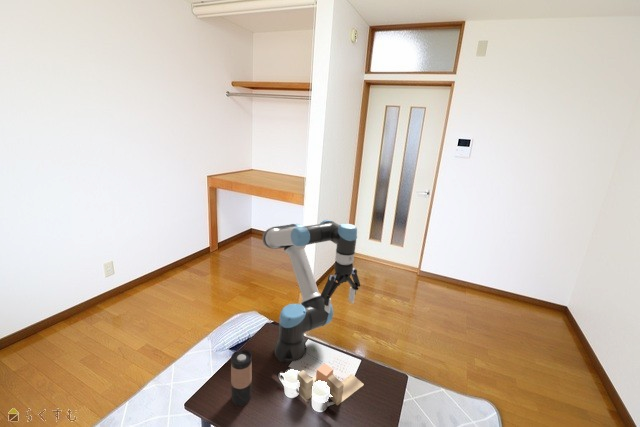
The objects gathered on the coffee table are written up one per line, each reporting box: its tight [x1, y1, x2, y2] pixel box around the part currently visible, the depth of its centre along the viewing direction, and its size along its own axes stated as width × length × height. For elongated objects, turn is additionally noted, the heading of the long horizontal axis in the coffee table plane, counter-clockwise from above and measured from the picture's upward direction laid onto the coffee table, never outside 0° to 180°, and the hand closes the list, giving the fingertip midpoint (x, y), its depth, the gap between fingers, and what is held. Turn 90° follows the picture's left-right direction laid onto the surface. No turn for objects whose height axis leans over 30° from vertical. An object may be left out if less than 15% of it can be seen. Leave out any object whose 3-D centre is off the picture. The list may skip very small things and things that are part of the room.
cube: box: [315, 362, 334, 382], centre depth 128 cm, size 5×5×5 cm
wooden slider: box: [296, 370, 318, 404], centre depth 124 cm, size 7×16×9 cm, turn 132°
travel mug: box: [230, 349, 253, 407], centre depth 115 cm, size 8×8×20 cm
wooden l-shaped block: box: [327, 373, 365, 406], centre depth 123 cm, size 7×16×9 cm, turn 132°
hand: (339, 306), depth 129 cm, fingers open, 13 cm apart
